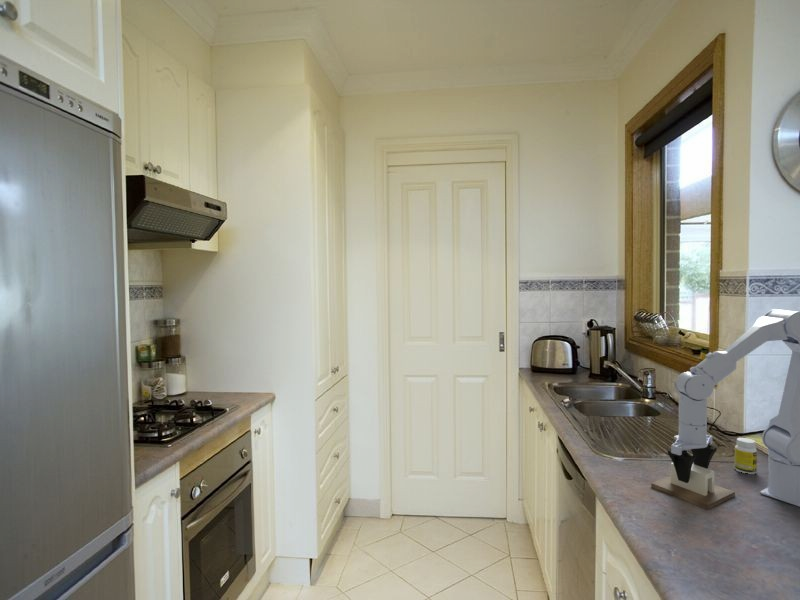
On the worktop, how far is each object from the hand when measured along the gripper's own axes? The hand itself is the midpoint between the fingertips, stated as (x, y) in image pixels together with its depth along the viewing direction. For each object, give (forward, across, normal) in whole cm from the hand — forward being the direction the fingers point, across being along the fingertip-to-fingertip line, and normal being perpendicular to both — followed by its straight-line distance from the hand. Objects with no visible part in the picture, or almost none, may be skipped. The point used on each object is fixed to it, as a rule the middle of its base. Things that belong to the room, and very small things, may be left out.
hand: (692, 477), depth 110 cm
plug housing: (+2, 0, 0) cm, 2 cm away
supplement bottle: (+4, -24, +1) cm, 24 cm away
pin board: (+3, 0, 0) cm, 3 cm away
